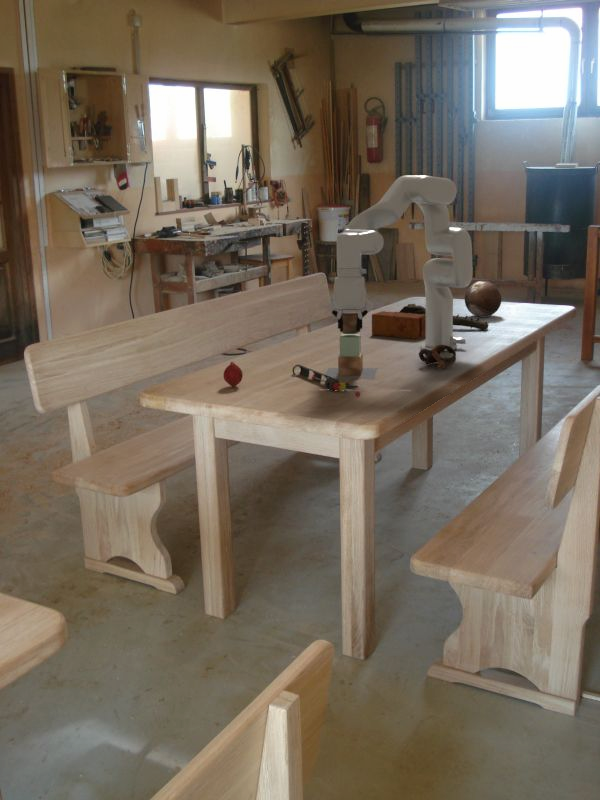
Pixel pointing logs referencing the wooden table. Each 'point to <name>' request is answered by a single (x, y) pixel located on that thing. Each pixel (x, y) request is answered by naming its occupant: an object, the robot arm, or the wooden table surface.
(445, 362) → the pottery mug
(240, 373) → the onion
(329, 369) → the mat
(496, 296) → the wooden sphere
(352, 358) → the tower base
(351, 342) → the tower mid
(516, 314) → the wooden table surface
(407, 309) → the wooden club
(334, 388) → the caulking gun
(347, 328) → the dowel
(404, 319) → the brick
